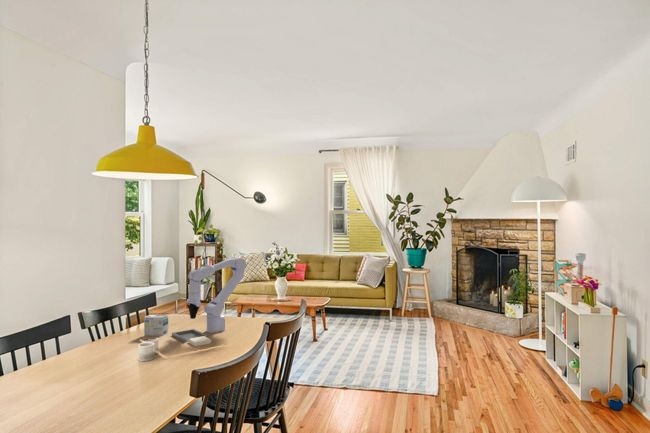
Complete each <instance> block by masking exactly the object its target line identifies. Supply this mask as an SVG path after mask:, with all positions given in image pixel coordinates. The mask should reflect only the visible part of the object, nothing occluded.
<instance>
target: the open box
mask: <svg viewBox="0 0 650 433" xmlns="http://www.w3.org/2000/svg"><path fill="white" fill-rule="evenodd" d="M171 336H172V337H173V338H174V339H177V340H178V341H181V343H184V344H185V343H189V339H191V338H197V337H202V336H205V337H207V338H208V335H207V334H205V333H202V332H201V331H198V330H197V329H195V328H191V329H186V330H180V331H179V330H178V331H175V332H171Z"/></svg>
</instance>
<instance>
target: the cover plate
mask: <svg viewBox="0 0 650 433" xmlns="http://www.w3.org/2000/svg"><path fill="white" fill-rule="evenodd" d="M188 343H189V344H190V345H192V346H194V347H200V346H203V345H210V344H212V339H211V338H210V337H208V336H207V337H205V336H202V337H197V338H191V339H189V342H188Z"/></svg>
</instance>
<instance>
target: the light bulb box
mask: <svg viewBox="0 0 650 433" xmlns="http://www.w3.org/2000/svg"><path fill="white" fill-rule="evenodd" d="M143 326H144V327H143V330H144V331H143V332H144V334H143V335H144V337H150V336H153V337H154V336H161V337H162V336H163V337H164V336H165V335H167V334H168V333H169V314H148V315H146V316H144V317H143Z"/></svg>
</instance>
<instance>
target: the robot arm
mask: <svg viewBox="0 0 650 433" xmlns="http://www.w3.org/2000/svg"><path fill="white" fill-rule="evenodd" d="M247 265H248V264H247V261H246V260H245V258H242V257H236V256H232V257H230V258H227V259H224V260H222V261H220V262H218V263H215V264H213V265H212V264H208V263H206V264H205V265H204V266H201V267H197V269H192V270H190V271H189V272H188V275H187V277H188V280H189V286H188V298H187V299H186V301H185V302H186V304H187V305H186V306H187V309H188V311H189V316H190V317H189V318H190V319H191V320H193V319H194V320H195V319H196V318H197V313H198V311H199V310H200V308H201V307H202V302H201V300H200V299H201V298H200V297H201V281H202V280H203V279H204V278H207V277H211V276H212V275H214V274H215V272H216V271H219V270H220V271H221V270H222V269H225V268H228V267H229V268H230V269H231V271H232V276H231V277H230V279H229V280H228V281H227V282H226V283H225V285H224V286H223V287H222V289H221V291H220V292H219V293H218V294H217V295H216V297H215V298H213V299H211V301H210V302H208V303H206V305H205V306H204V312H205V314H206V333H211V334H214V333H218V332H223V331H226V318H225V316H224V315H223V314H222V312H223V309H224V308H225V303H226V301H227V300H228V298H229V297H230V296H231V294H232V293H233V292H234V290H236V287H238V285H239V284H240V282H241V281H242V279H243V278H244V275H245V270H246V268H247V267H248V266H247Z"/></svg>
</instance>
